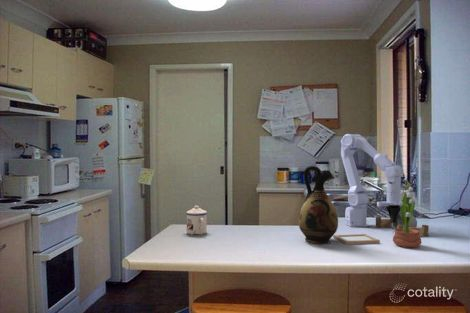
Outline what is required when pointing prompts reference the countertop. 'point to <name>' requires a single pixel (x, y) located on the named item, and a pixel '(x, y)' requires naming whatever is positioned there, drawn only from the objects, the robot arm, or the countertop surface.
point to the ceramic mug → (400, 222)
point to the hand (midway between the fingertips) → (393, 222)
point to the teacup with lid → (196, 221)
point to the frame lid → (356, 239)
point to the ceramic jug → (318, 209)
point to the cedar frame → (388, 223)
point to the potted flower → (407, 222)
